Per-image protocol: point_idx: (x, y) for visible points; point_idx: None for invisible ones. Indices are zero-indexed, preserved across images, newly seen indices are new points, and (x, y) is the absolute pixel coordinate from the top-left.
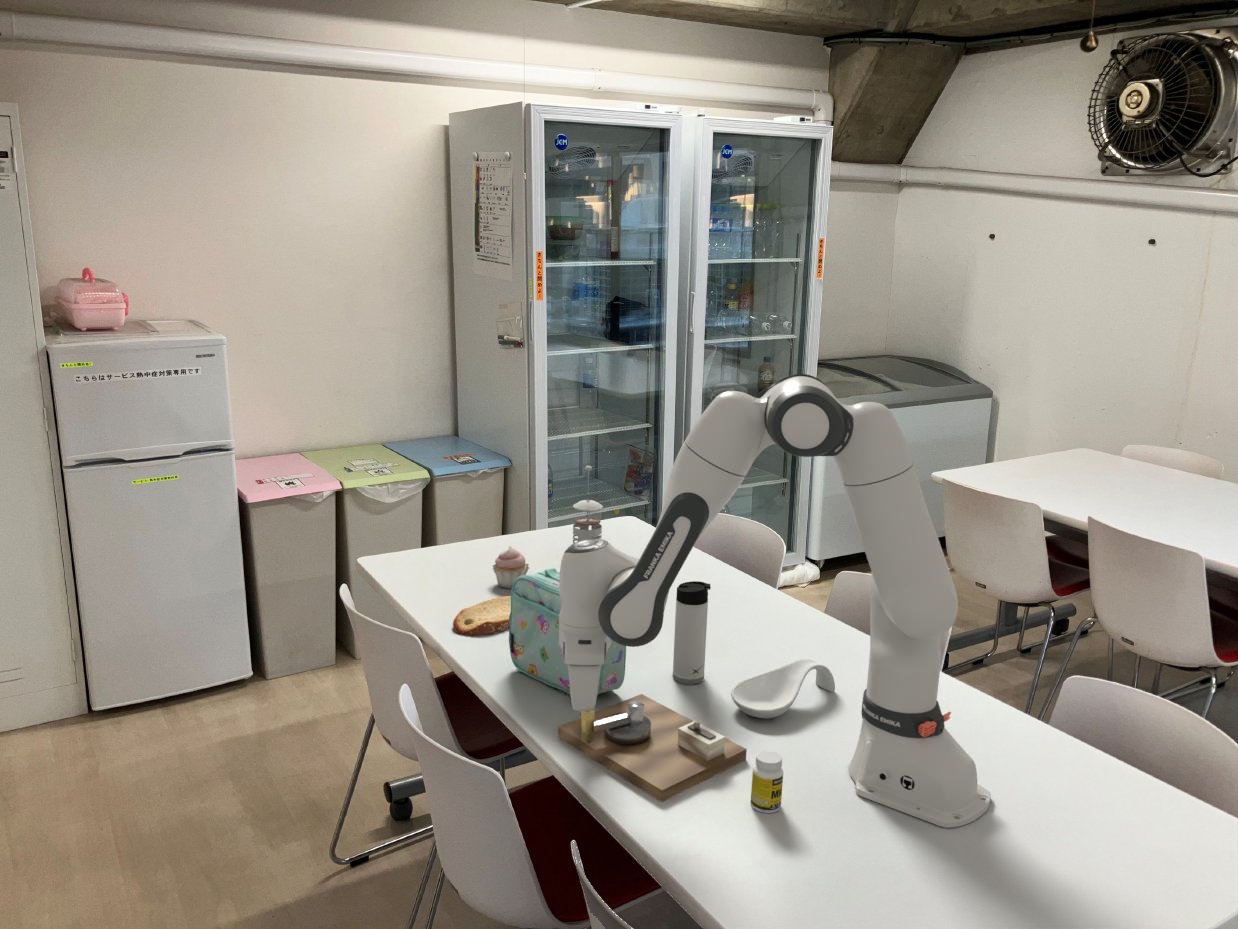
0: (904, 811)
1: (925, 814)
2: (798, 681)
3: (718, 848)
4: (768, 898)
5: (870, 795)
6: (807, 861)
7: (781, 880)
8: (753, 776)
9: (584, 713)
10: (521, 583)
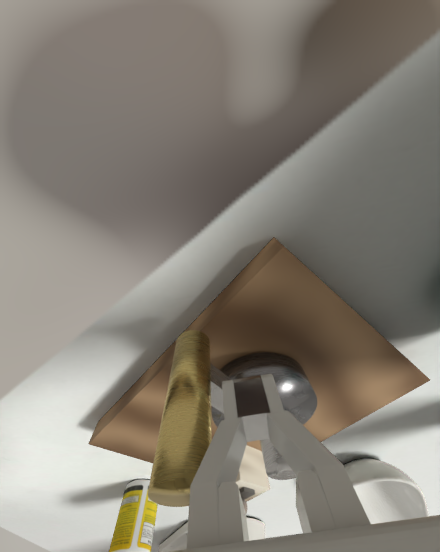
0: (170, 537)
1: (164, 548)
2: None
3: (33, 469)
4: None
5: (183, 531)
6: (62, 508)
7: (17, 501)
8: (119, 541)
9: (159, 433)
10: None
